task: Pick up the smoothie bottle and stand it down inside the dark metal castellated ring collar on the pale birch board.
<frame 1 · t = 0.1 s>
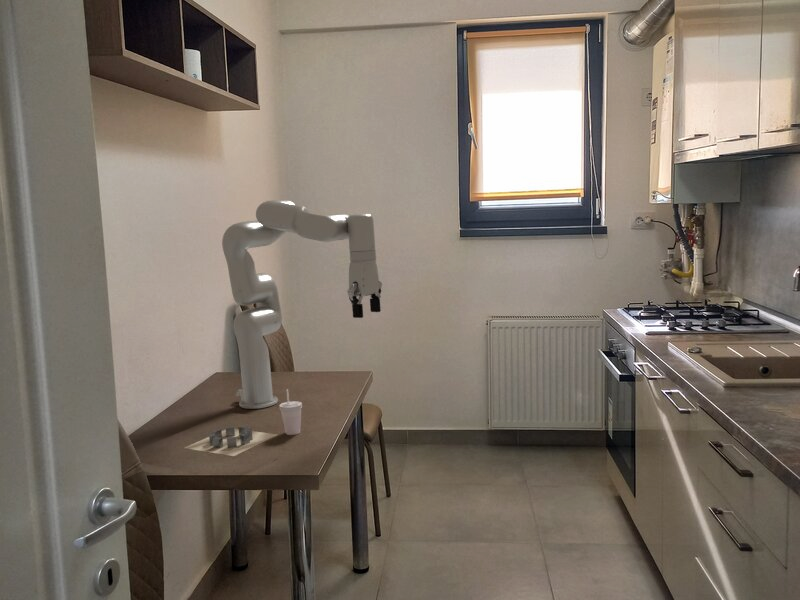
hand: (367, 314, 219), 31 cm above the table, fingers open, 9 cm apart
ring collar: (231, 441, 205), resting on socket plate
socket plate: (231, 446, 205), on the table
smoothie: (293, 438, 210), on the table
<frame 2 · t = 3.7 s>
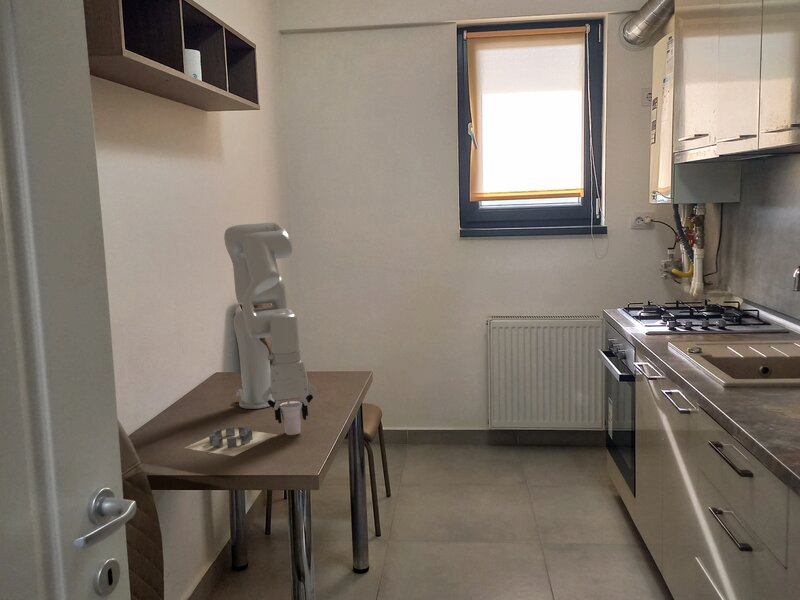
hand: (292, 419, 209), 5 cm above the table, fingers closed on smoothie, 6 cm apart
smoothie: (293, 438, 209), on the table, touching gripper
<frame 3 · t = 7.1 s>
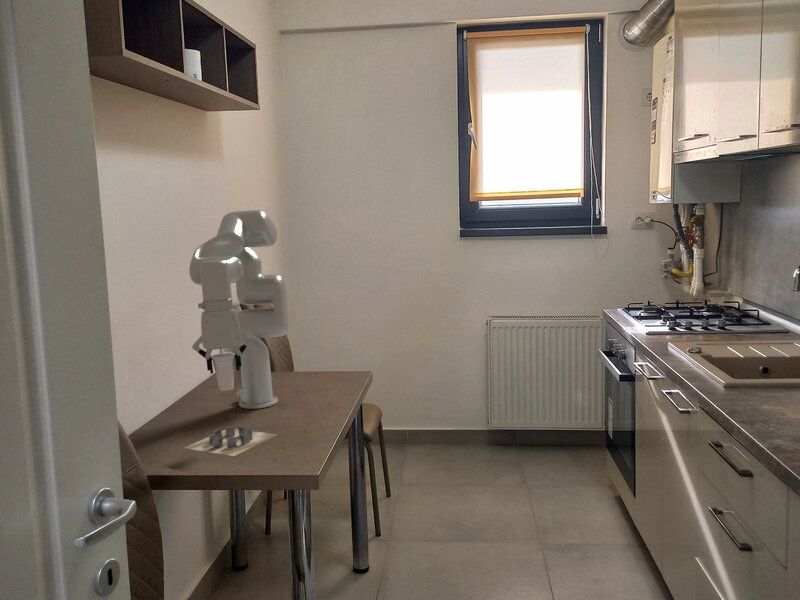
hand: (224, 370, 202), 21 cm above the table, fingers closed on smoothie, 6 cm apart
smoothie: (226, 389, 203), point 16 cm above the table, touching gripper
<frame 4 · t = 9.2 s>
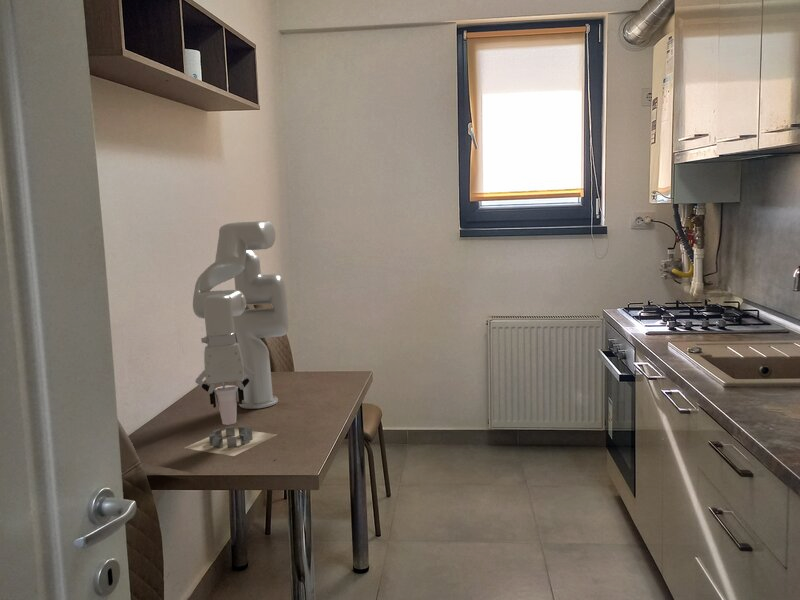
hand: (227, 404, 203), 12 cm above the table, fingers closed on smoothie, 6 cm apart
smoothie: (229, 423, 204), point 7 cm above the table, touching gripper
when the fingers open (7 cm above the table, at t = 10.9 s): smoothie stays where it is, resting on socket plate.
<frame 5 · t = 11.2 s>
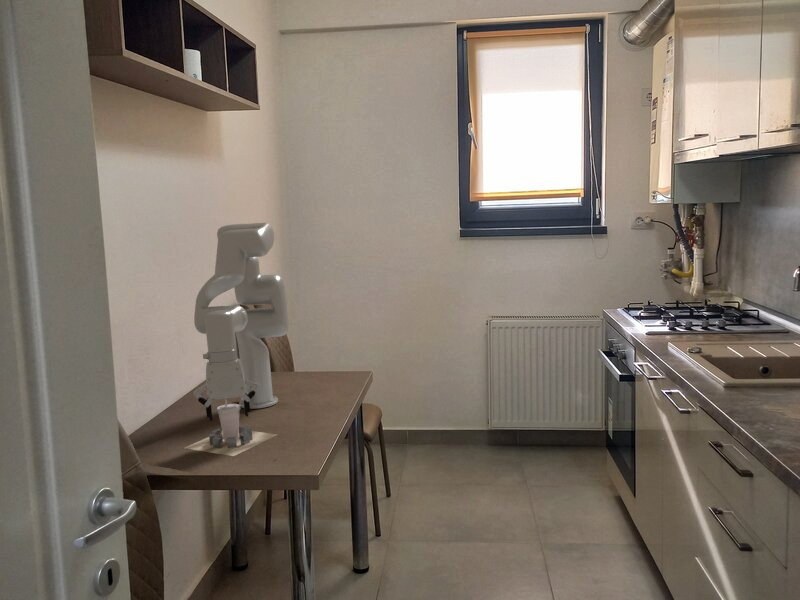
hand: (229, 417, 204), 8 cm above the table, fingers open, 9 cm apart
smoothie: (231, 441, 205), point 1 cm above the table, touching socket plate
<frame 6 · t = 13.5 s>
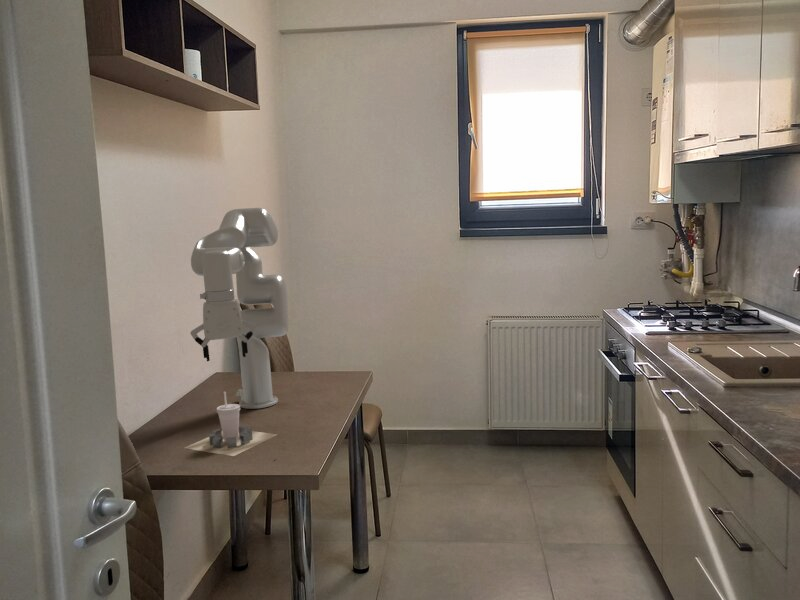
hand: (226, 358, 204), 24 cm above the table, fingers open, 9 cm apart
nothing on the table moved.
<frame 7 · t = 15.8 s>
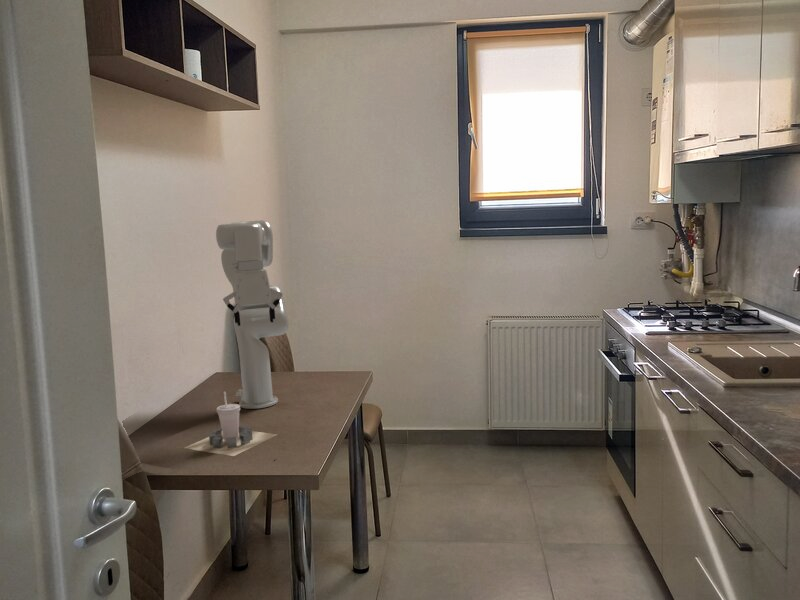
hand: (255, 323, 222), 30 cm above the table, fingers open, 9 cm apart
nothing on the table moved.
at the end: smoothie 0.1 cm off-centre on the socket plate, point 1.3 cm above the socket plate's base; smoothie tilted 0°; the gripper is holding nothing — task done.
